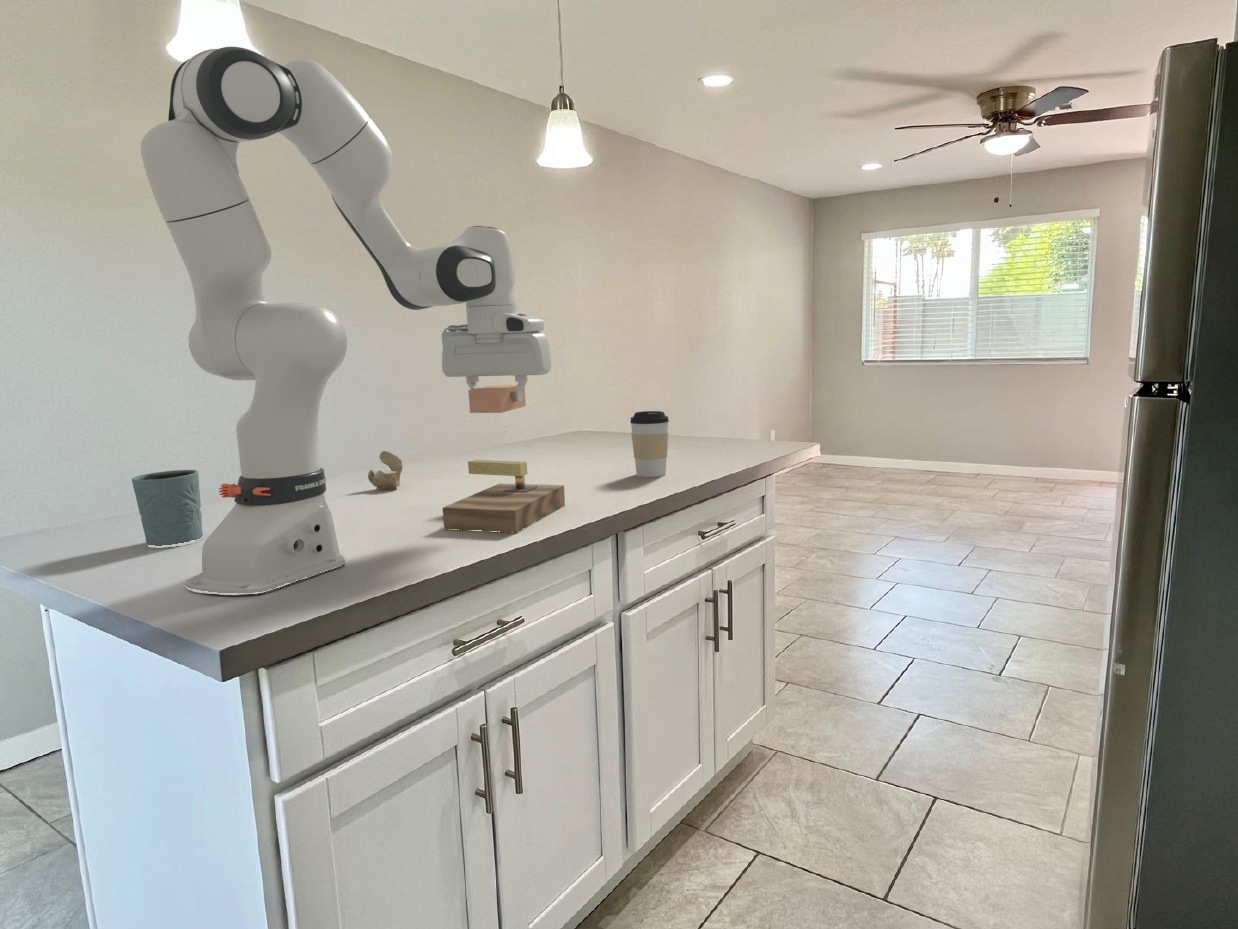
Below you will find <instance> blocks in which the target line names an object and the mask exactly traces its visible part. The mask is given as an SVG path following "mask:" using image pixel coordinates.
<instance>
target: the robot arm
mask: <svg viewBox="0 0 1238 929" xmlns="http://www.w3.org/2000/svg"><path fill="white" fill-rule="evenodd" d="M168 107H169V110H168V116H167V117H168V118H167V119H168V120H167V121H164V122H161V123H160V124H157V125H155V126H154V127H152V128H151V129H150V130H148V131H147V133H146V134H145V135H144V136H143V138H142V140H141V141H140V142H141V143H140V154H141V158H142V162H143V166H144V171H145V173H146V176H147V180H148V184H149V187H150V188H151V191H152V195H153V197H154V199H155V202H156V205H157V207H158V209H159V212H160V214H161V216H162V219H163V220H164V222H165V224H166V226H167V229H168V231H169V233H170V235H171V238H172V240H173V242H174V243H175V246H176V248H177V250H178V253H179V254H180V257H181V260H182V261H183V264H184V266H185V268H186V271H187V274H188V275H189V279H190V283H191V286H192V291H193V297H194V304H195V318H194V319H195V320H194V322H193V324H192V326H191V327H190V331H189V334H188V348H189V351H190V354H191V357H192V358H193V361H195V363H196V364H197V366H198V367H199V368H200V369H202V370H203V371H204V372H206V373H209V374H211V375H214V376H218V377H220V378H224V379H228V380H233V381H255V386H254V394H253V398H252V401H251V403H250V406H249V408H248V410H246V412H244V413H243V414H242V415H241V417H240V418H239V419H238V421H237V423H236V428H235V431H236V440H237V450H238V456H239V458H238V459H239V464H240V472H241V474H240V476H239V477H238V481H237V484H235V483H231V484H230V483H222V484H220V486H219V488H218V490H219V491H218V493H219V496H221V498H224V499H225V498H232V499H233V500H234V503H235V505H234V506H233V507H232V508H231V510H230V511H229V512H228V513H227V514H226V516H225V517H224V519H223V520H222V521H221V522H220V524H218V525H217V527H216V528H215V529H214V530H213V532H212V533H211V534H210V535H209V536H208V537H207V538H206V540H205V541H204V542H203V546H202V551H201V552H202V553H201V570H202V572H201V573H198V574H197V575H195V576H193V577H190V578H188V579H187V580H185V581H184V586H185V585H186V586H187V587H188V588H191V589H196V590H201V591H208V592H217V593H238V594H239V593H253V592H254V593H255V592H263V591H267V590H269V589H274V588H276V587H278V586H281V585H284V584H286V583H292V582H295V581H296V580H301V579H303V578H305V577H310V576H313V575H315V574H318V573H320V572H323V571H326V570H330V569H332V568H335V567H338V566H341V565H343V564H345V565H346V559H345V556H343V555H342V553H341V551H340V550H339V544H338V539H337V534H336V530H335V523H334V519H333V514H332V511H331V509H330V508H329V506H328V503H327V501H326V497H325V493H326V491H327V478H326V476H325V469H324V468H322V466H321V455H320V444H319V443H320V442H319V431H318V430H319V428H318V427H319V426H318V418H319V410H320V405H321V401H322V400H321V399H322V396H323V394H324V390H325V387H326V385H327V383H328V381H329V380H330V378H331V376H332V375H333V374H334V372H335V371H336V370H337V369H338V368H339V367H340V366H341V365H342V364H343V362H344V359H345V357H346V353H347V348H348V339H347V334H346V330H345V327H344V325H343V323H342V321H341V320H340V318H339V317H338V316H337V315H336V314H335V313H334V312H333V311H331V309H328V308H325V307H323V306H317V305H313V304H309V303H302V302H282V303H280V302H279V303H269V302H268V300H267V299H266V296H265V292H264V286H263V273H264V271H265V270H266V269H267V268H268V266H269V265H270V263H271V260H272V249H271V246H270V244H269V241H268V239H267V237H266V234H265V232H264V229H263V227H262V225H261V222H260V220H259V218H258V215H257V213H256V211H255V209H254V205H253V203H252V200H251V198H250V196H249V194H248V191H247V189H246V187H245V185H244V183H243V181H242V179H241V177H240V175H239V174H240V171H239V169H238V168H239V167H238V164H237V153H238V147H239V146H240V143H246V142H250V141H254V140H261V139H264V138H268V137H270V136H273V135H275V134H277V133H278V134H280V135H282V136H283V137H284V138H286V139H287V140H288V141H289V142H290V143H292V144H293V145H294V146H295V147H296V149H297V150H298V151H299V152H300V154H301V155H302V157H304V159H305V160H306V161H307V162H308V164H310V166H311V167H312V168H313V169H314V171H316V173H317V175H318V176H319V177H320V178H321V180H323V182H324V184H325V185H326V187H327V189H329V192H330V193H331V194H330V195H331V198H332V200H333V203H334V204H335V206H336V207H337V210H338V211H339V213H340V214H341V216H342V217H343V218H344V219H343V220H345V222H346V223H347V225H348V226H349V227H350V229H351V230H352V231H353V234H355V236H356V237H357V238H358V240H359V241H360V242H361V244H362V246H363V247H364V248H365V249H366V251H367V253H368V254H369V255H370V257H371V258H372V259H373V260H374V262H375V264H376V265H377V266H378V269H379V270H380V272H381V274H382V276H383V279H384V281H385V284H386V287H387V289H388V291H389V293H390V295H391V296H392V297H393V298H394V300H395V301H396V302H397V303H398V304H400V305H401V306H402V307H403V308H406V309H408V310H414V311H419V310H424V309H428V308H433V307H441V306H442V307H443V306H450V305H461V304H465V311H466V321H467V322H466V323H467V324H459V325H458V324H450V325H447V327H446V328H444V330H442V333H441V345H442V351H441V352H442V354H441V368H442V369H441V370H442V373H443V374H444V375H445V376H446V378H454V377H455V378H457V377H458V378H460V377H461V378H462V377H463V378H464V377H465V379H466V385H467V386H468V387H469V390H471V389H477V388H480V387H479V384H478V382H480V377H502V376H503V377H505V376H510V377H511V376H513V377H514V381H515V383H516V382H517V384H516V385H517V387H516V389H515V391H512V392H511V401H522V399H523V396H522V391H523V389H524V387H525V386H527V385H526V384H527V382H528V376H543V375H546V374H548V373H549V372H550V371H551V369H552V358H551V357H552V356H551V351H550V345H549V341H548V338H547V335H545V334H544V333H543V331H544V329H545V321H544V320H543V319H542V318H539V317H536V316H532V315H529V314H525V313H522V312H520V311H518V305H517V304H518V303H517V300H516V297H515V293H514V289H515V288H514V287H515V283H516V274H515V263H514V262H515V260H514V255H513V254H514V253H513V250H512V245H511V241H510V238H509V236H508V235H507V233H506V232H505V231H502V230H501V229H500V228H496V227H493V226H486V225H485V226H483V225H474V226H469V227H467V228H465V230H464V232H463V233H462V234H461V235H459V236H457V237H456V238H455V239H453V240H451V241H448V242H447V243H444V244H443V245H439V246H433V247H428V248H418V247H417V246H413V245H412V244H410V243H409V242H408V241H406V239H405V238H404V236H403V234H402V233H401V232H400V230H399V229H398V227H397V226H396V225H395V223H394V222H393V219H391V217H390V216H389V214H388V212H387V211H386V210H385V207H384V205H383V204H382V199H381V195H382V194H381V193H382V191H383V190H384V188H385V187H386V186H387V185H388V182H389V181H390V179H391V175H392V172H393V166H394V158H393V152H392V149H391V147H390V145H389V142H388V141H387V139H386V137H385V135H384V134H383V133H382V131H381V130H380V128H379V126H377V124H376V123H375V122H374V120H373V119H372V118H371V117H370V115H369V114H368V113H367V112H366V110H365V109H364V108H363V106H362V105H361V104H360V103H359V101H358V100H357V99H356V98H355V97H354V96H353V95H352V94H351V92H349V90H348V89H347V88H346V87H345V85H343V84H342V83H341V82H340V81H339V80H338V79H337V78H336V77H335V76H334V75H333V74H332V73H331V72H329V71H328V70H327V68H326V67H325V66H323V65H322V64H321V63H319V62H317V61H315V60H313V59H308V58H301V59H295V60H292V61H289V62H287V63H285V64H283V65H281V64H279V63H277V62H275V61H274V60H271V59H270V58H267V57H266V56H263V55H262V54H260V53H258V52H255V51H254V50H252V49H248V48H244V47H239V46H223V47H221V48H220V47H219V48H209V49H206V50H203V51H200V52H198V53H197V54H195V55H193V56H192V57H191V58H188V59H186V60H185V61H183V62H182V63H181V64H180V65H179V66H178V68H177V69H176V71H175V72H174V75H173V77H172V80H171V85H170V95H169V106H168ZM341 567H342V566H341ZM330 571H331V570H330ZM318 575H319V574H318ZM313 577H314V576H313ZM310 578H311V577H310ZM301 581H302V580H301ZM295 583H296V582H295Z"/></svg>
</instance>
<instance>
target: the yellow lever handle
mask: <svg viewBox="0 0 1238 929" xmlns="http://www.w3.org/2000/svg"><path fill="white" fill-rule="evenodd" d="M527 463H528V462H527V461H514V460H512V461H511V460H510V461H509V460H494V459H493V460H490V459H489V460H488V459H472V460H469V461H468V462H467V467H468V469H467V470H468V474H469V475H483V476H484V475H486V476H503V477H504V476H507V477H514V482H515V483H514V484H516V488H525V484H526V481H525V480H526V479H525V476H526V475H528V464H527Z"/></svg>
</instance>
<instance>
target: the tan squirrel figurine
mask: <svg viewBox="0 0 1238 929" xmlns="http://www.w3.org/2000/svg"><path fill="white" fill-rule="evenodd" d="M378 457H379V460H380V461H381V463H383V464H384V465H386V466H388V468H389V469H390V470H387V469H379V470H377V471H376V470H374V469H373V468H372V469H370V470H369V471H368V474H367V478H368V481H369V482H370V483H371V484H372V485H373V487H375V489H374V490H375V491H382V490H396V491H397V490H398V487H400V486H401V485H400V481H401V474H402V471H403V468H404V467H403V461H402V459H401V458H400V457H399V456H398V455H396V454H395V453H393V452H390V451H387V450H382V451H381V452H380V453H379V456H378Z"/></svg>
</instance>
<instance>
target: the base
mask: <svg viewBox="0 0 1238 929" xmlns="http://www.w3.org/2000/svg"><path fill="white" fill-rule="evenodd" d="M565 498H566V497H565V485H563V484H562V485H561V484H534V483H533V484H531V483H530V484H529V483H525V488H516V484H515V483H498V484H495V485H493V486H491V487H488V488H485V489H483V490H481V491H479V492H476V493H474V494H472V495H469V496H467V497H465V498H463V499H460V500H457V501H454V502H452V503H450V504H448V505H446V506H445V505H444V506H443V507H442V519H443V530H444V529H457V530H458V529H459V530H482V531H497V532H498V531H500V532H513V533H512V534H518V533H519V532H518V531H520V530H522V529H523V528H525V529H527V528H528V526H529V525H530V526H532V525H533V524H532V523H534V522H535V521H537V522H539V521H540V519H541V518H542V519H544V518H545V516H546V515H547V516H549V515H551V514H553V513H554V512H556V511H557V510H559V509H562V508H563V507H565V505H566V501H565ZM547 516H546V517H547ZM543 517H544V518H543ZM542 519H541V520H542ZM538 520H539V521H538ZM535 523H536V522H535ZM535 523H534V524H535ZM531 524H532V525H531ZM530 526H529V527H530ZM526 527H527V528H526ZM457 530H456V531H457ZM523 530H524V529H523ZM523 530H522V531H523ZM497 532H496V533H497ZM517 532H518V533H517ZM520 532H521V531H520Z"/></svg>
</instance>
